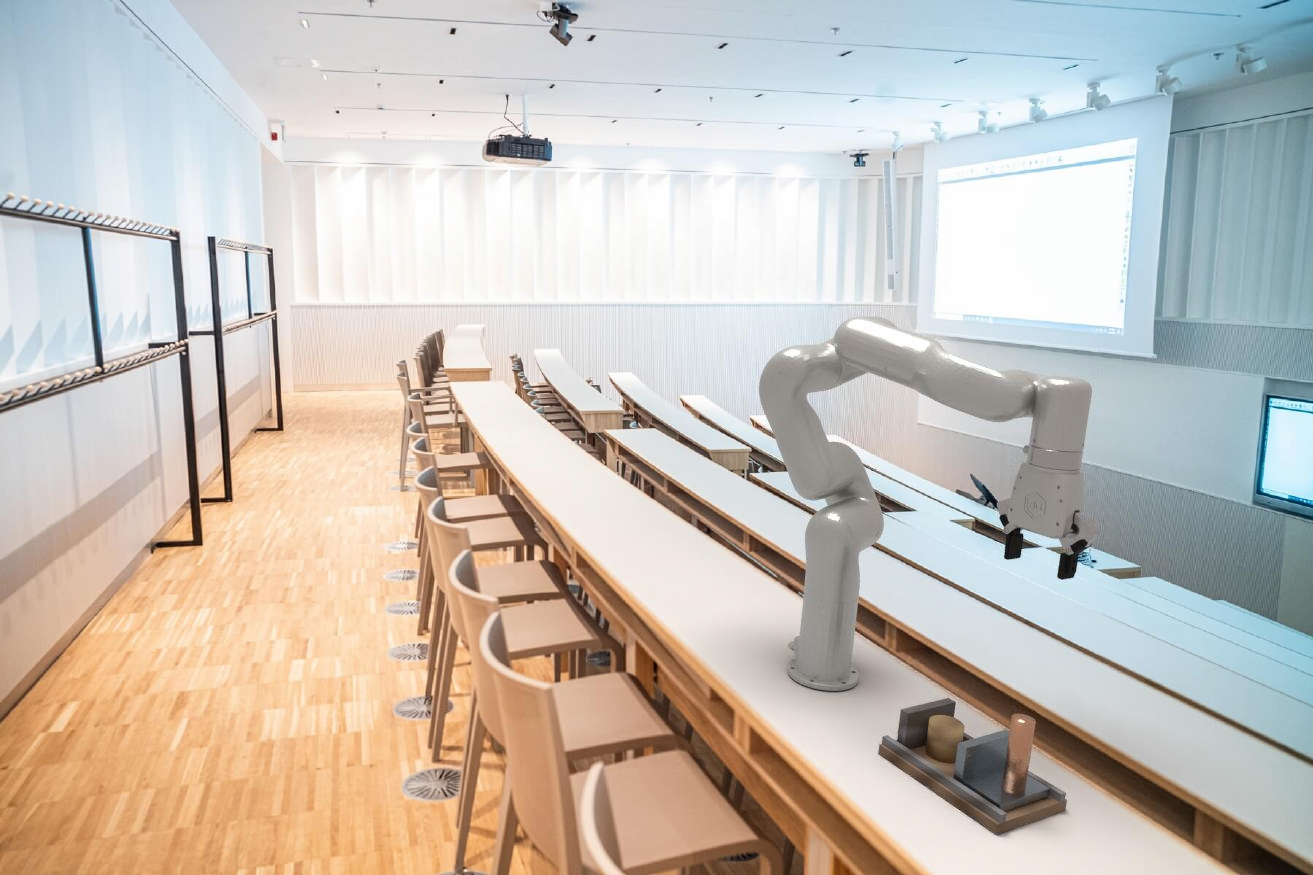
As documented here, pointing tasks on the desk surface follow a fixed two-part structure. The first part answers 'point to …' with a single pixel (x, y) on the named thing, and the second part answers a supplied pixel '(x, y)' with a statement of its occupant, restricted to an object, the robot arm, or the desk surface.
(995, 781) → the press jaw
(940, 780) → the press base
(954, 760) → the tan round peg
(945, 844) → the desk surface
